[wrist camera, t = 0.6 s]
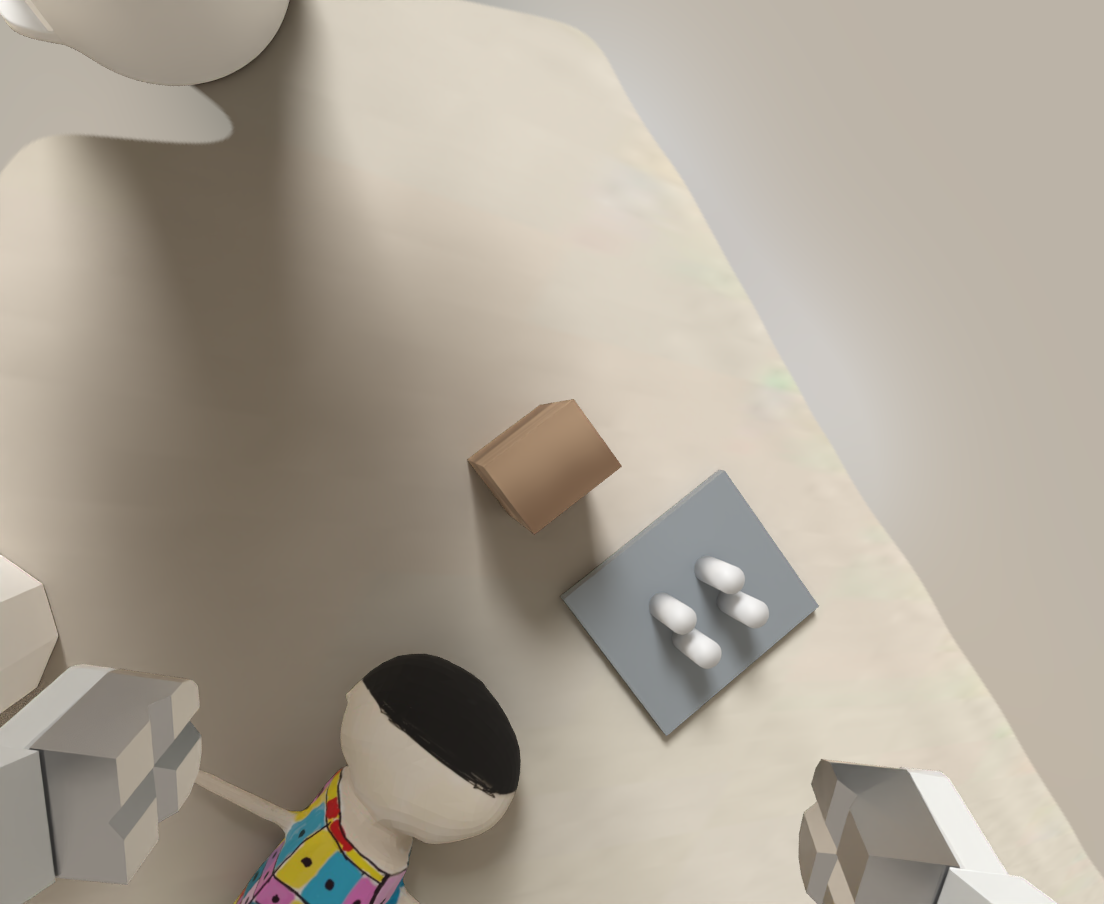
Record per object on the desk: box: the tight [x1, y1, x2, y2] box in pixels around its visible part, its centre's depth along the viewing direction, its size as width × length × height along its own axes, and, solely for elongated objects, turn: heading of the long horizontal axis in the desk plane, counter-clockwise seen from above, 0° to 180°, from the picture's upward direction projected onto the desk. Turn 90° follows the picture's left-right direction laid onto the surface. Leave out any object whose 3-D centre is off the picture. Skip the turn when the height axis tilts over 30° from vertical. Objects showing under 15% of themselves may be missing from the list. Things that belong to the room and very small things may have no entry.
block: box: [467, 399, 622, 535], centre depth 46 cm, size 4×6×10 cm
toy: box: [195, 654, 520, 904], centre depth 45 cm, size 23×9×30 cm
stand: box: [560, 470, 819, 736], centre depth 51 cm, size 12×14×5 cm
